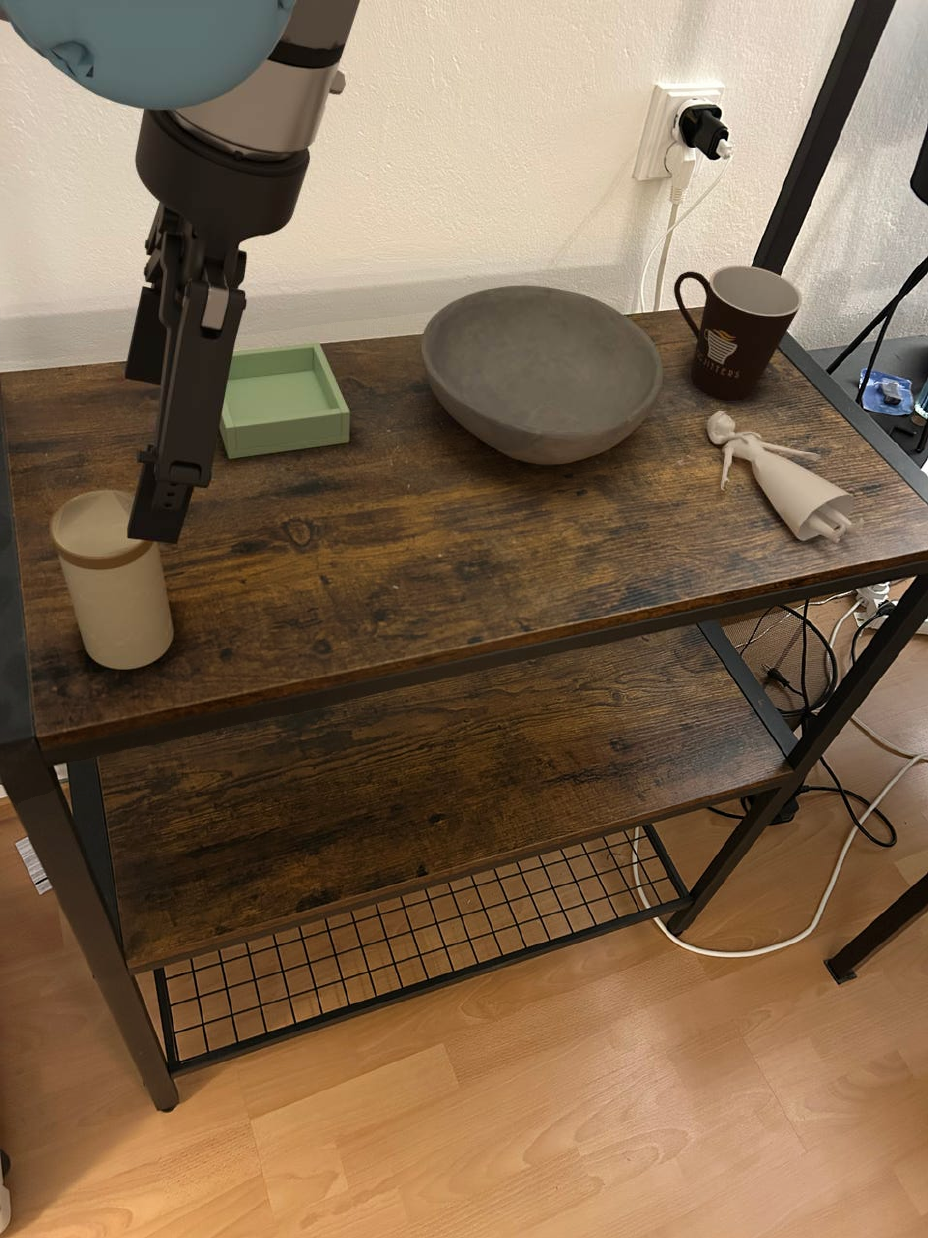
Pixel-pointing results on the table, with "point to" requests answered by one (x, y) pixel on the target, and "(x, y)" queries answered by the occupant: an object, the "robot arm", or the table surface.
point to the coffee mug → (738, 327)
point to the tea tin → (112, 580)
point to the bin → (282, 401)
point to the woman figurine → (787, 483)
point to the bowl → (541, 371)
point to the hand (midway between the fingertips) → (149, 452)
